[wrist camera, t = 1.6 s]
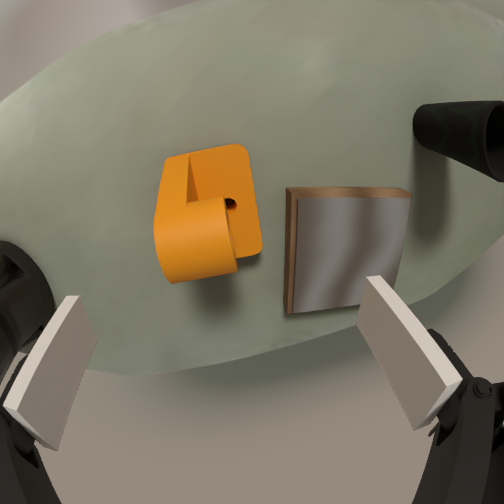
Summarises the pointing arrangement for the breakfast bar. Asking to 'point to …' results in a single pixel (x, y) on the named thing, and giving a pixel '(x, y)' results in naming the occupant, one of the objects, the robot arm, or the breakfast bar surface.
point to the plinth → (340, 243)
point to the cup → (465, 133)
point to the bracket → (206, 214)
